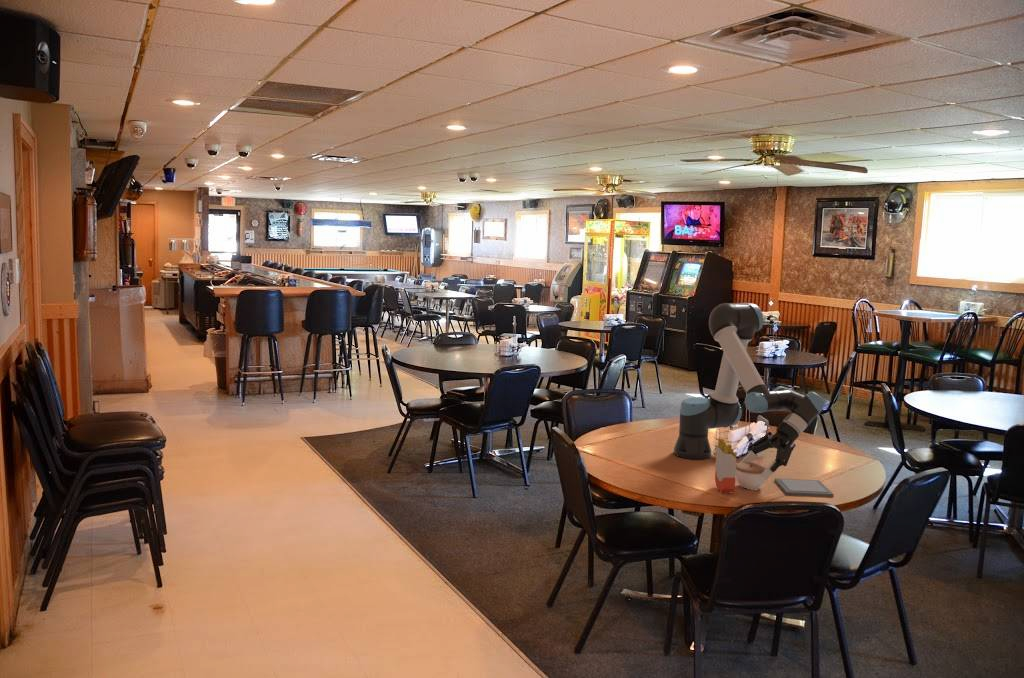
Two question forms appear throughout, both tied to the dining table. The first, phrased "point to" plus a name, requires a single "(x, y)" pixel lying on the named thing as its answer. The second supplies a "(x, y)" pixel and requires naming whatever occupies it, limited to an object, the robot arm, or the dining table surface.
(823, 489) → the bar mat
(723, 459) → the french fries container
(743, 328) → the robot arm
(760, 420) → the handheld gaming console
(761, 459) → the dining table surface
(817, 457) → the dining table surface
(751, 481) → the lidded jar
